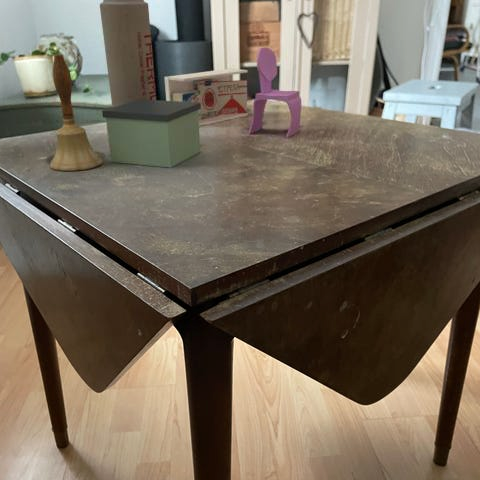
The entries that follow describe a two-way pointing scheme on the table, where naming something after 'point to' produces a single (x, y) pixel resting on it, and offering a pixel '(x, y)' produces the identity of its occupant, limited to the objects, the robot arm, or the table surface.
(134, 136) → the storage box
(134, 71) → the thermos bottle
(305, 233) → the table surface
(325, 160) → the table surface
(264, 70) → the toy chair
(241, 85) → the cigarette display
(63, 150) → the hand bell
